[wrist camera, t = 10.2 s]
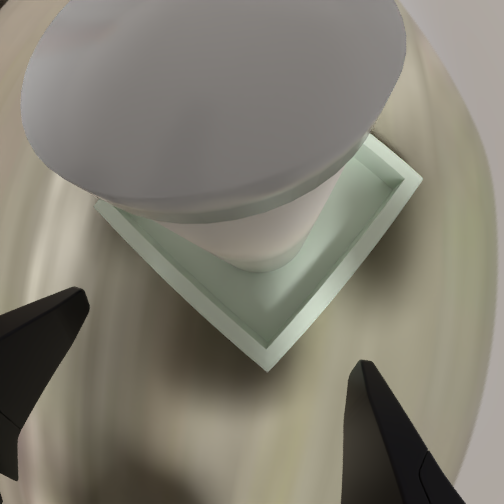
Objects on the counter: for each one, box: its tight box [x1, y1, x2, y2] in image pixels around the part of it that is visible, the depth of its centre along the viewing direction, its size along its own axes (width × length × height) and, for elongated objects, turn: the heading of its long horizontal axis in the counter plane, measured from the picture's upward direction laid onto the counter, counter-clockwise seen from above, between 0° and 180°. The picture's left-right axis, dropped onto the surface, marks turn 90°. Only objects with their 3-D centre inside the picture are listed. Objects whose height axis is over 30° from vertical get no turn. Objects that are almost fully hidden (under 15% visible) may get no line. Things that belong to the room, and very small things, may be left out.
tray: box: [94, 133, 423, 372], centre depth 17 cm, size 13×13×3 cm
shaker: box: [21, 0, 406, 273], centre depth 10 cm, size 5×5×14 cm
